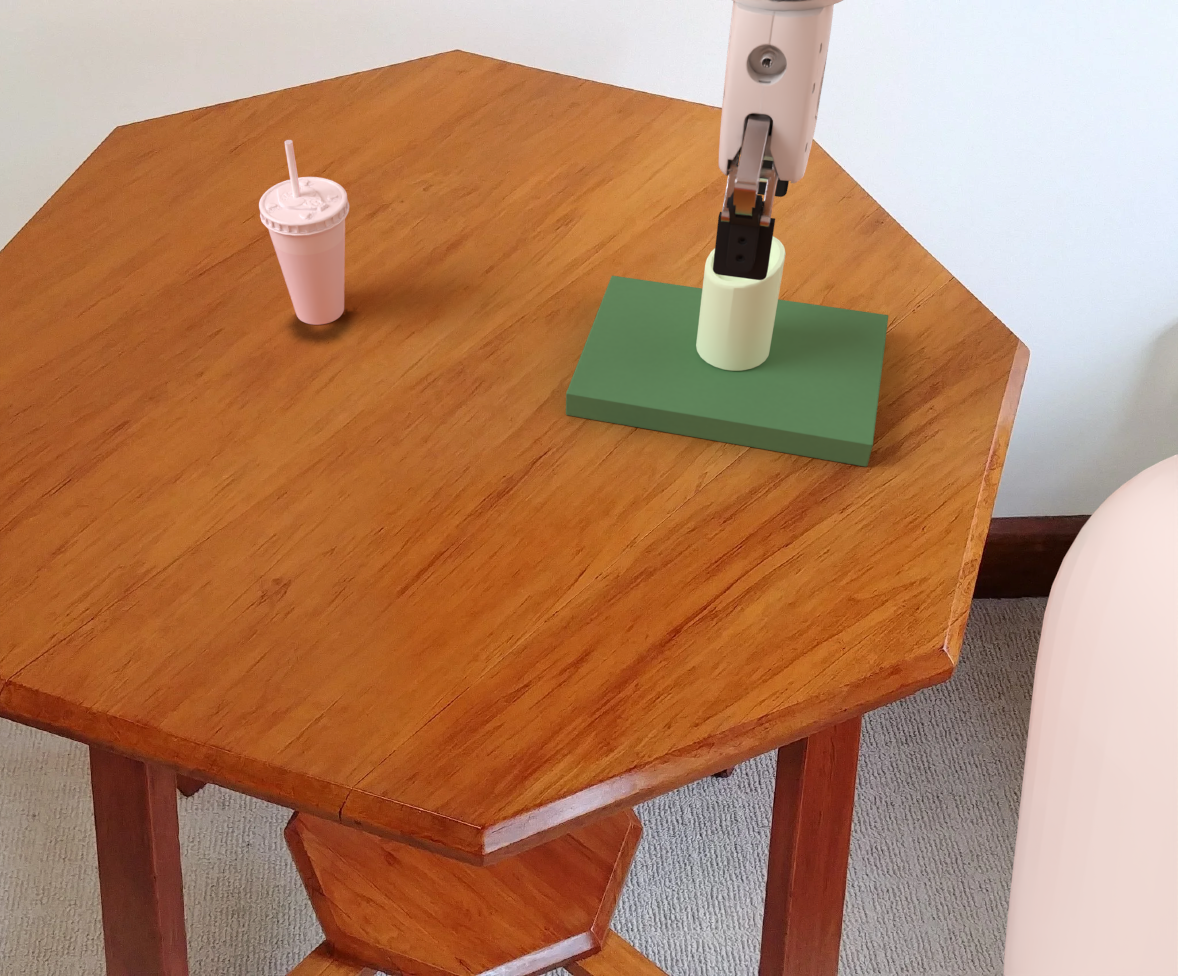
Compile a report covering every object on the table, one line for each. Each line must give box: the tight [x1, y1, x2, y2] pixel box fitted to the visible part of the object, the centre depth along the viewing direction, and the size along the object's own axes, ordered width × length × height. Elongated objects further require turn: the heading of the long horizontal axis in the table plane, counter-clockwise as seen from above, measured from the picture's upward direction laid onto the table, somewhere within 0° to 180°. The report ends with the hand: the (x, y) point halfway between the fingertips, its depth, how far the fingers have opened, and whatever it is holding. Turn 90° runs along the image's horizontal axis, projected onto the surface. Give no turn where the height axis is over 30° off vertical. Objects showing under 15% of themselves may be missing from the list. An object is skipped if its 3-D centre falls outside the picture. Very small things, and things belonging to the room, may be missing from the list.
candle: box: [696, 235, 787, 371], centre depth 83 cm, size 5×5×8 cm
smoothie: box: [258, 139, 350, 326], centre depth 90 cm, size 6×6×14 cm
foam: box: [565, 275, 889, 468], centre depth 86 cm, size 20×14×2 cm
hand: (751, 232), depth 78 cm, fingers open, 9 cm apart
